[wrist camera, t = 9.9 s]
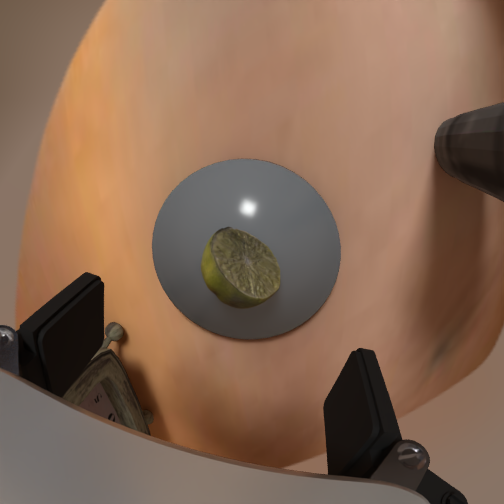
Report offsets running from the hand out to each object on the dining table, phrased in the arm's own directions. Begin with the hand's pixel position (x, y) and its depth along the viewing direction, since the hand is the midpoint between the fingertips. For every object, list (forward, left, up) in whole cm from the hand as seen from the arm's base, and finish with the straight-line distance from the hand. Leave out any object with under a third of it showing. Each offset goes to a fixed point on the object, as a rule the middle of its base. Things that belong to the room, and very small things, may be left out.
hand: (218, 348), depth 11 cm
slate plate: (+1, 0, -12) cm, 12 cm away
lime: (0, 0, -11) cm, 11 cm away
